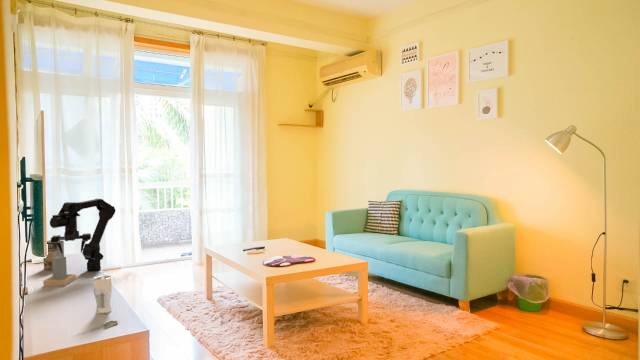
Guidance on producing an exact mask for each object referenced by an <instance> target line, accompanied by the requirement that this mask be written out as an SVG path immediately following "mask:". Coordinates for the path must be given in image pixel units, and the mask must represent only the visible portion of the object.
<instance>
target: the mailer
mask: <svg viewBox="0 0 640 360" xmlns="http://www.w3.org/2000/svg"><path fill="white" fill-rule="evenodd" d="M80 277H81V275H76V274H75V273H67V279H65V280H53V275H51V276H49V277H48V278H45V279H43V280H42V283H43V287H65V286H67V285H69V284H70V283H72V282H74V281H75V280H77V279H78V278H79V279H80Z"/></svg>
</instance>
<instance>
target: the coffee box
mask: <svg viewBox="0 0 640 360" xmlns="http://www.w3.org/2000/svg"><path fill="white" fill-rule="evenodd" d="M61 241H62V248H63V254H61V251H60V249H59V247H58V245H57V244H54V242H51V239H49V240H48V241H46V242H47V244H48V255H47V257H46V258H43V257H42V259H43V270H51V271H52V258H54V257H57V256H58V257H65V246H64V245H65V243H64V242H65V240H61Z"/></svg>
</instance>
